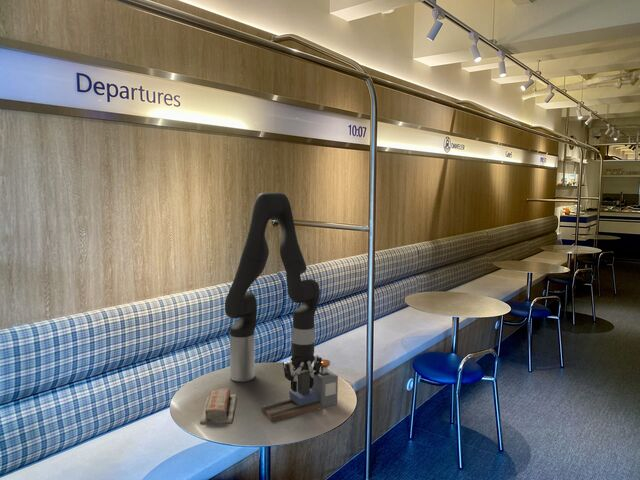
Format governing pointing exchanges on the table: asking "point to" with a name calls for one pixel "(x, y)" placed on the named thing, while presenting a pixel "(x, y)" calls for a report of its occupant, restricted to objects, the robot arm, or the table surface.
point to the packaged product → (219, 407)
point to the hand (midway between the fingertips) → (302, 389)
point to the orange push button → (324, 367)
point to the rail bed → (287, 409)
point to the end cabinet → (326, 388)
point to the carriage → (303, 390)
